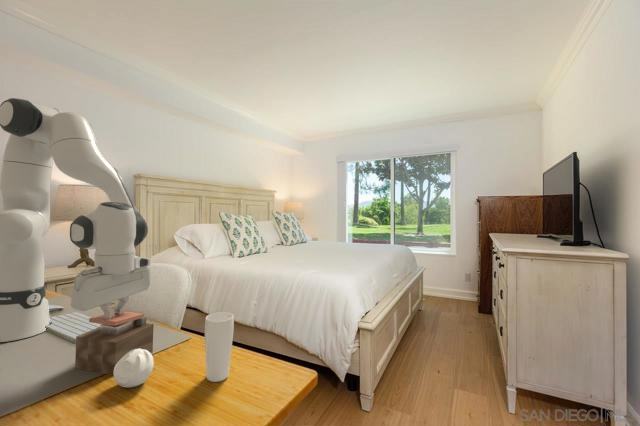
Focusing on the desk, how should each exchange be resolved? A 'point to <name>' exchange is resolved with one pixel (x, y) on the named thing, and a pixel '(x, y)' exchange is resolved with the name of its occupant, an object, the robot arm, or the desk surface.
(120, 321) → the panel
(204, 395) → the desk surface
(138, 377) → the white ridged ball
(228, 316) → the drinking glass
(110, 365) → the block
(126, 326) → the steel peg
